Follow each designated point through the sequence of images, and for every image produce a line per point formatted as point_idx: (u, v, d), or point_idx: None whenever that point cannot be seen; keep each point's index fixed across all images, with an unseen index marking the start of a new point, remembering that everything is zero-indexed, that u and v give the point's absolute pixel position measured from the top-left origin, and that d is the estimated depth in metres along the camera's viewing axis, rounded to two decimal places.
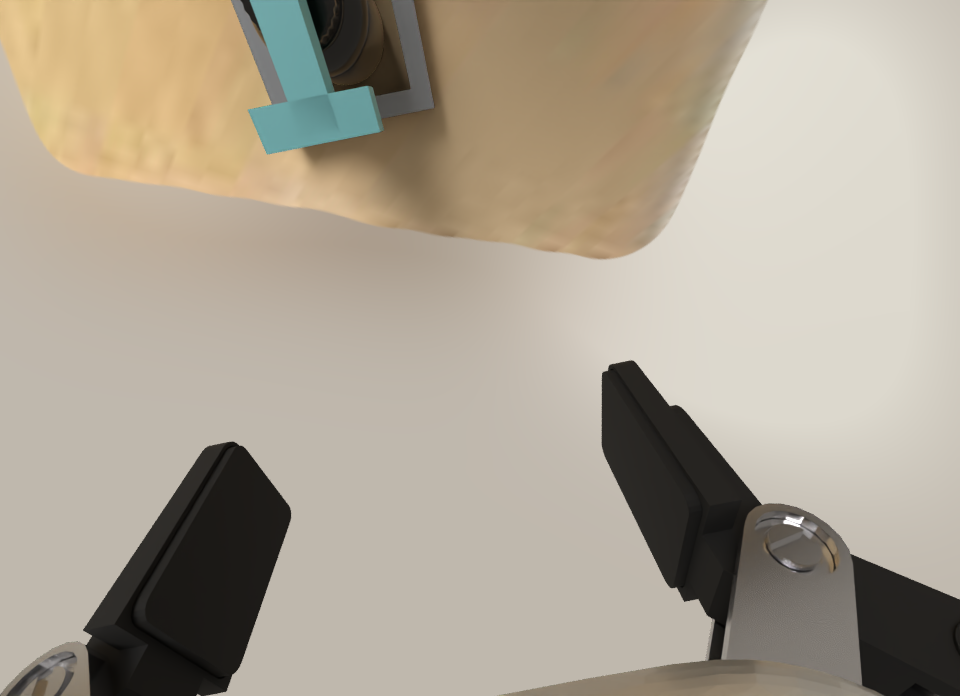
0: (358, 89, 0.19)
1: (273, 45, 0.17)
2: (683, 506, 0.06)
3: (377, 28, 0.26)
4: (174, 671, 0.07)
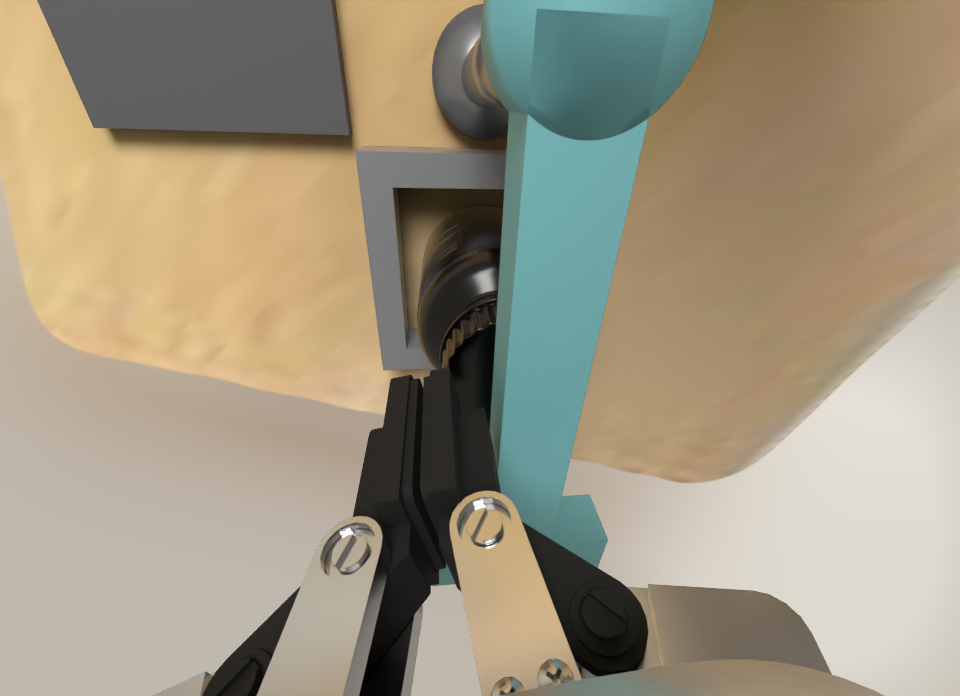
0: (594, 542, 0.13)
1: None
2: None
3: None
4: (421, 552, 0.08)
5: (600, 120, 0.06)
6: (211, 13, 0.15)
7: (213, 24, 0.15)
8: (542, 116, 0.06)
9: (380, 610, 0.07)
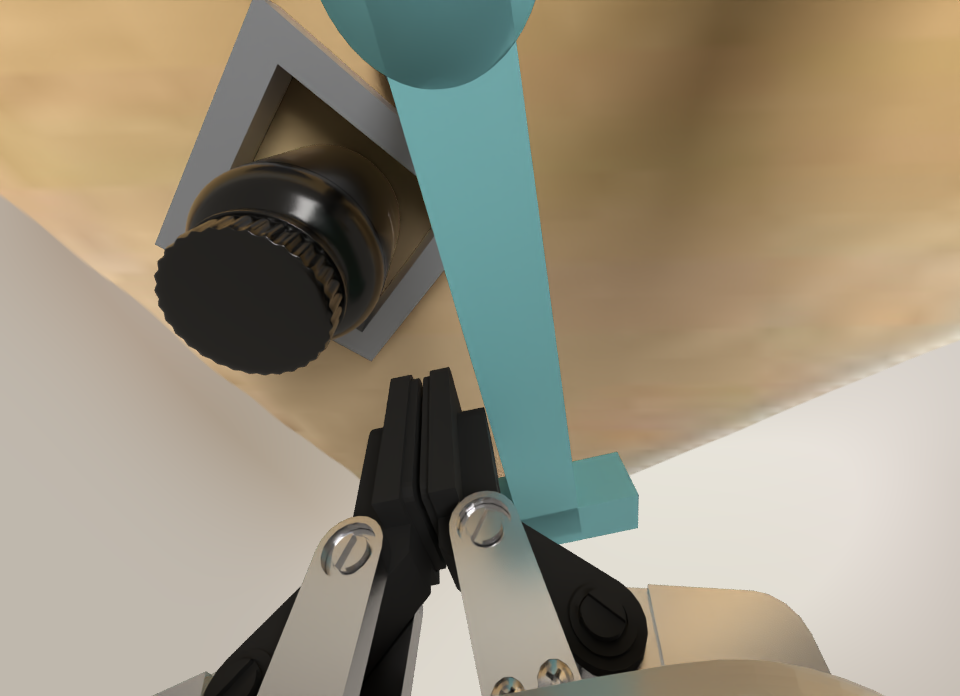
0: (624, 500, 0.12)
1: (517, 479, 0.11)
2: None
3: None
4: (421, 552, 0.08)
5: (465, 60, 0.06)
6: None
7: None
8: (403, 75, 0.06)
9: (380, 610, 0.07)
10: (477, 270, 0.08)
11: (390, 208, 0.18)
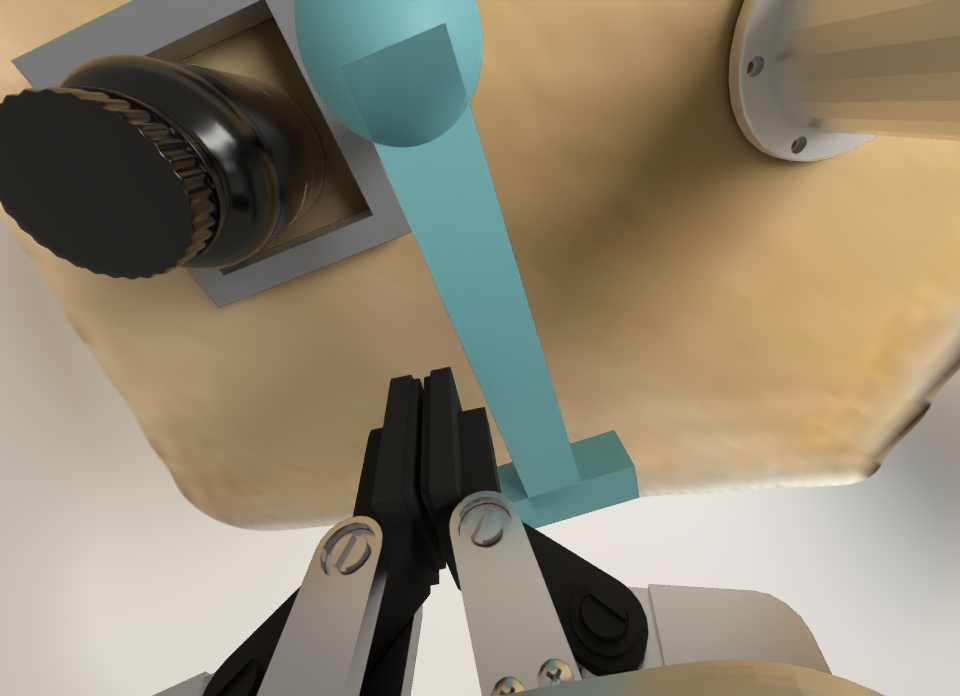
0: (621, 471, 0.14)
1: (521, 459, 0.13)
2: None
3: None
4: (421, 552, 0.08)
5: (432, 122, 0.07)
6: None
7: None
8: (385, 139, 0.07)
9: (380, 610, 0.07)
10: (462, 282, 0.09)
11: (311, 182, 0.18)
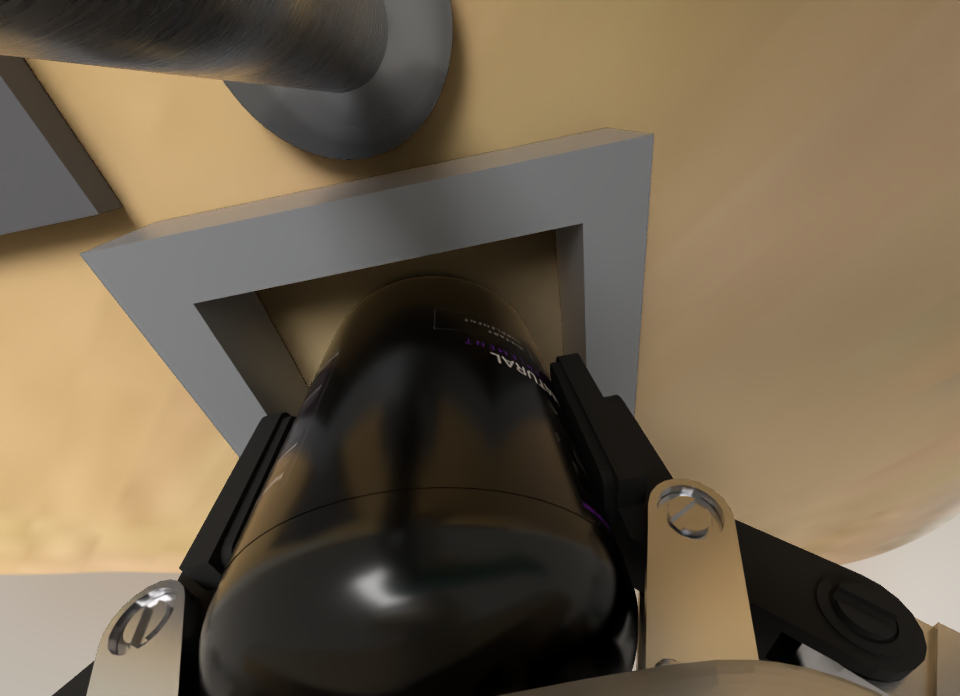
0: None
1: None
2: (601, 482, 0.07)
3: None
4: None
5: None
6: None
7: None
8: None
9: None
10: None
11: (490, 333, 0.09)
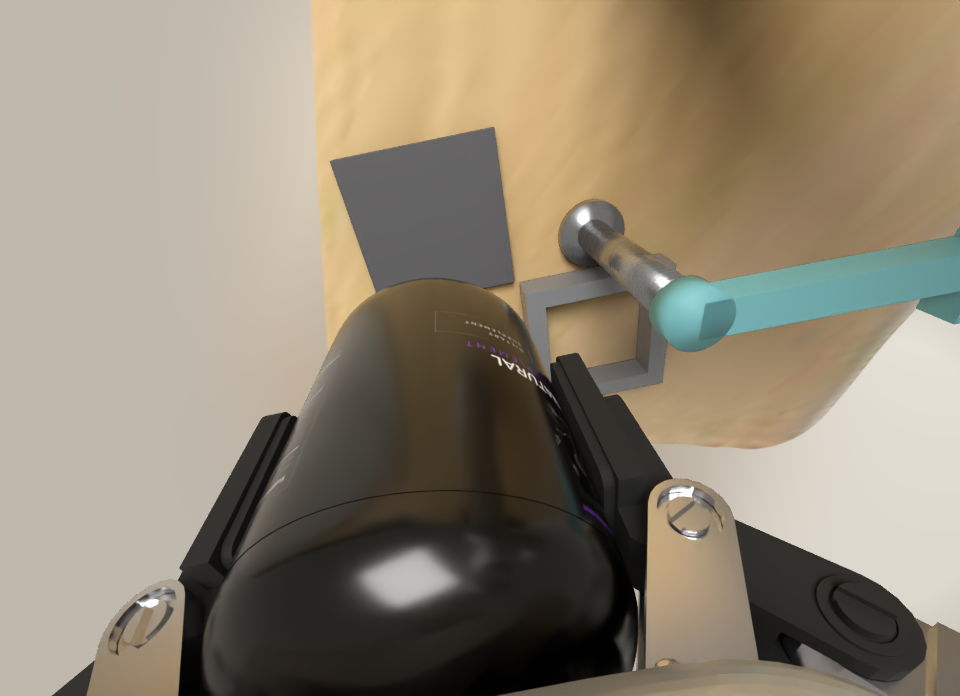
0: None
1: (935, 290, 0.18)
2: (601, 482, 0.07)
3: None
4: None
5: (730, 313, 0.17)
6: (445, 243, 0.29)
7: (446, 248, 0.29)
8: (725, 331, 0.18)
9: None
10: (797, 311, 0.18)
11: (490, 335, 0.09)
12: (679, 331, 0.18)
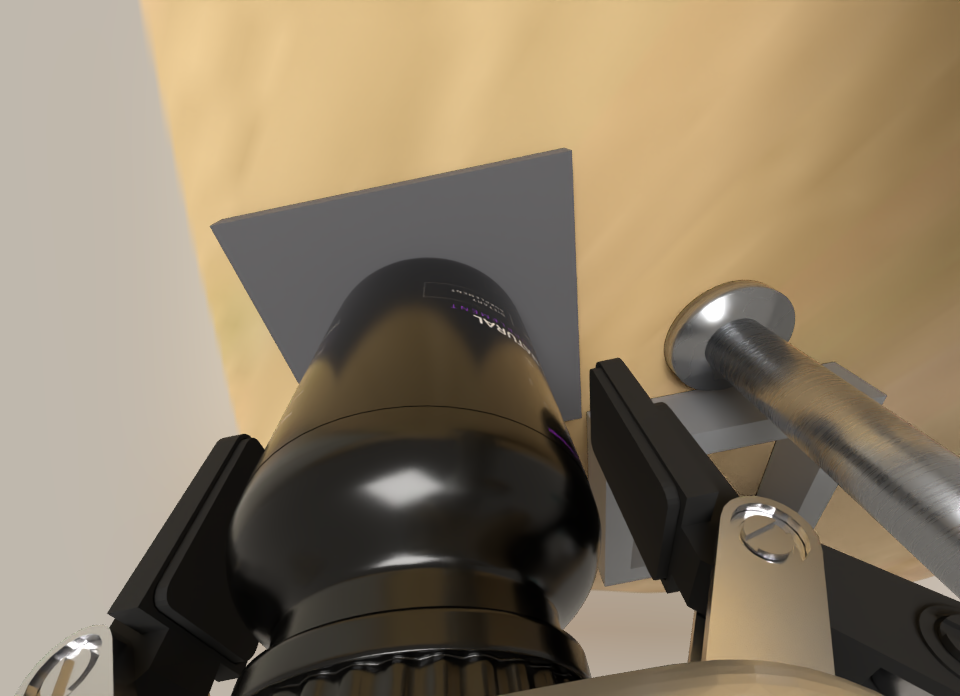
0: None
1: None
2: (663, 499, 0.06)
3: None
4: (193, 655, 0.07)
5: None
6: None
7: None
8: None
9: None
10: None
11: (474, 301, 0.10)
12: None
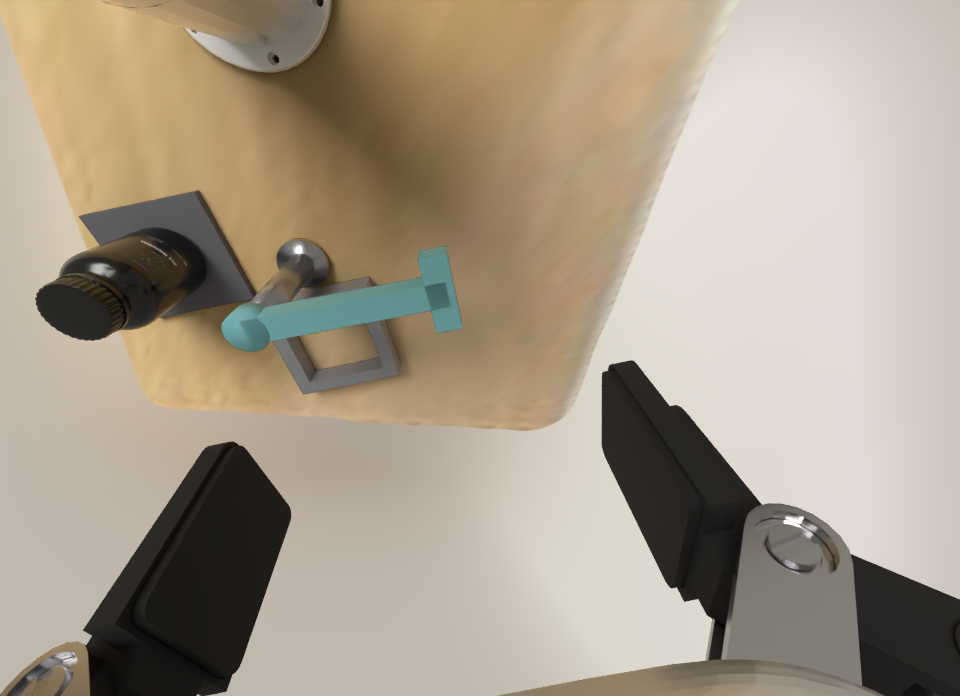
0: (420, 266, 0.26)
1: (401, 312, 0.28)
2: (683, 506, 0.06)
3: (183, 277, 0.35)
4: (174, 671, 0.07)
5: (262, 327, 0.28)
6: None
7: None
8: (268, 338, 0.28)
9: None
10: (310, 325, 0.28)
11: (149, 238, 0.33)
12: (234, 338, 0.28)
